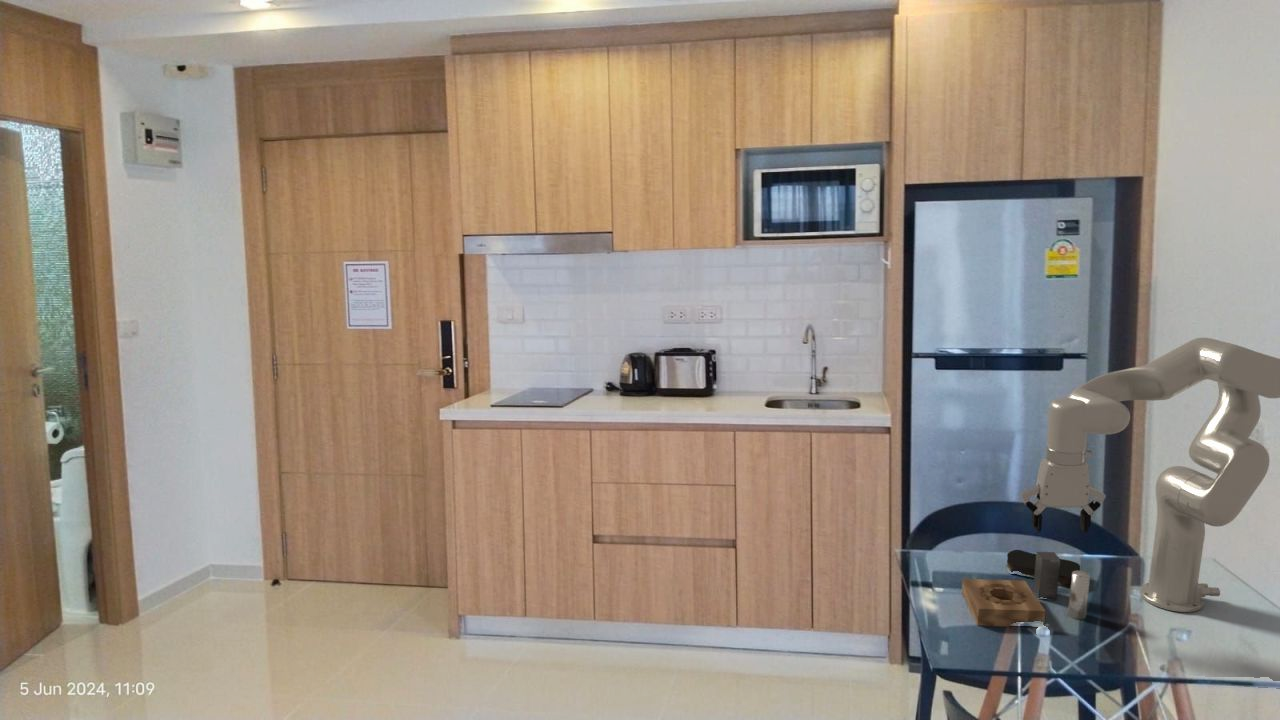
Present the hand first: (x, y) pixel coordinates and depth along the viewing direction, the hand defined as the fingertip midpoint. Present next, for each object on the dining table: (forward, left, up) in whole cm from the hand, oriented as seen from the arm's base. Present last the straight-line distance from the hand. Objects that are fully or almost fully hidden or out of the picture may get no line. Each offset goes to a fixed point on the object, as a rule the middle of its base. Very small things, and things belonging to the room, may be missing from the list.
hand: (1060, 529), depth 196 cm
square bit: (-1, -8, -20) cm, 22 cm away
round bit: (-5, +1, -20) cm, 21 cm away
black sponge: (-4, -19, -21) cm, 29 cm away
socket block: (+11, 0, -20) cm, 23 cm away
